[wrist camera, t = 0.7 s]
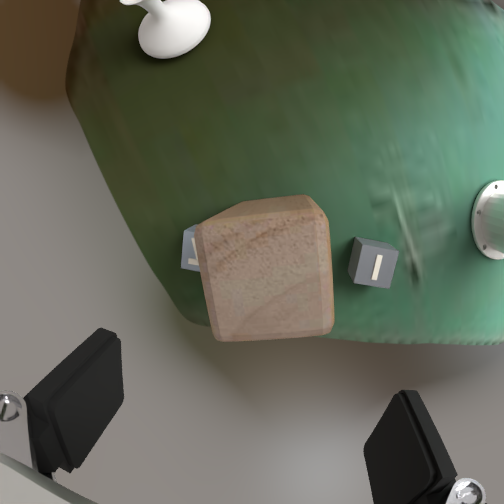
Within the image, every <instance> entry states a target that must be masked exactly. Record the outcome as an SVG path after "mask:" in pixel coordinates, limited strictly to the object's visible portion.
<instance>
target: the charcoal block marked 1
mask: <svg viewBox="0 0 504 504" xmlns="http://www.w3.org/2000/svg"><path fill="white" fill-rule="evenodd" d="M398 254H399V251H398V250H397V249H395V248H394V247H393V246H391V245H390V244H389V243H385V242H380V241H375V240H370V239H365V238H360V237H355V238H354V243H353V248H352V252H351V257H350V261H349V266H348V270H347V272H348V274H349V275H350V277H351V279H352V281H353V283H357V284H363V285H369V286H375V287H381V288H388V289H389V288H390V285H391V281H392V277H393V274H394V270H395V266H396V262H397V258H398Z"/></svg>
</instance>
